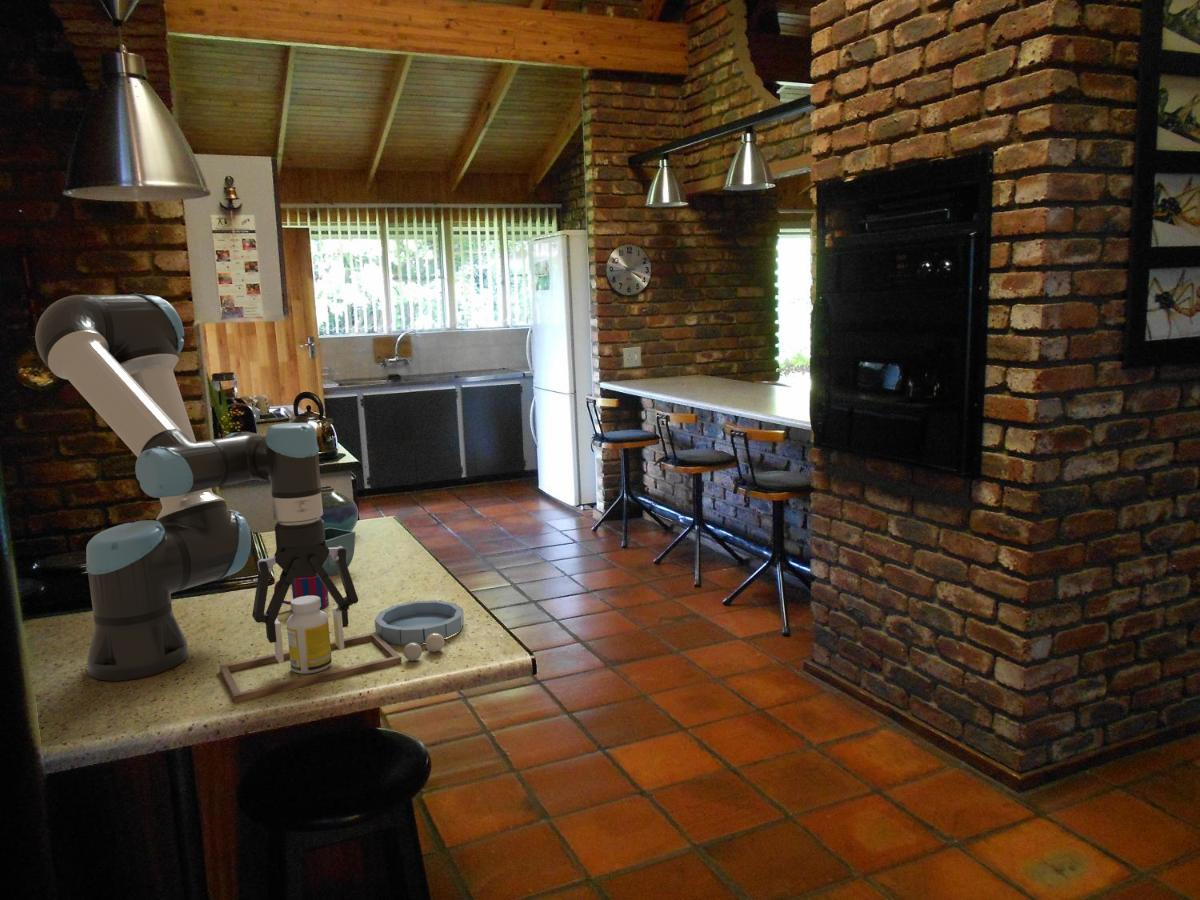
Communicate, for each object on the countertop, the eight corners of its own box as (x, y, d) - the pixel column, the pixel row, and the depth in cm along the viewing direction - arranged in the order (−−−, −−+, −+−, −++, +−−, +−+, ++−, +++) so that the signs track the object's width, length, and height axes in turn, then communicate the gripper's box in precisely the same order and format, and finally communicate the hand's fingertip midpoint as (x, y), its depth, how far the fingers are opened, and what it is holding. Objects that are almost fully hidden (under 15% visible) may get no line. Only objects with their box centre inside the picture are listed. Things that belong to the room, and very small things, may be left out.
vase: (322, 528, 240) (318, 480, 238) (371, 531, 235) (367, 482, 233) (285, 543, 226) (281, 492, 224) (337, 547, 221) (332, 494, 219)
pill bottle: (340, 662, 148) (334, 595, 146) (314, 677, 142) (308, 608, 140) (308, 657, 150) (303, 591, 148) (282, 672, 144) (275, 604, 142)
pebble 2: (430, 656, 149) (428, 638, 149) (423, 650, 152) (422, 632, 151) (447, 652, 151) (446, 634, 150) (441, 646, 154) (439, 628, 153)
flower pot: (329, 580, 194) (325, 540, 192) (301, 574, 198) (298, 536, 197) (359, 569, 201) (356, 531, 199) (332, 564, 206) (329, 527, 204)
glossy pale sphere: (407, 665, 146) (406, 647, 145) (401, 659, 148) (400, 642, 148) (425, 661, 147) (423, 643, 147) (418, 655, 150) (417, 638, 149)
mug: (328, 609, 174) (326, 576, 173) (275, 615, 172) (272, 582, 171) (329, 599, 181) (326, 567, 180) (277, 605, 178) (274, 572, 177)
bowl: (393, 652, 151) (392, 636, 151) (366, 626, 164) (365, 611, 164) (476, 633, 159) (475, 617, 159) (444, 609, 172) (443, 595, 172)
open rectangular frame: (235, 702, 134) (234, 696, 133) (220, 671, 145) (219, 665, 145) (401, 662, 147) (401, 657, 147) (375, 637, 159) (375, 632, 158)
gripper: (230, 535, 133) (244, 676, 137) (372, 514, 144) (382, 645, 148) (222, 525, 140) (236, 660, 143) (359, 506, 151) (368, 632, 154)
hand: (310, 652), depth 146 cm, fingers open, 9 cm apart
